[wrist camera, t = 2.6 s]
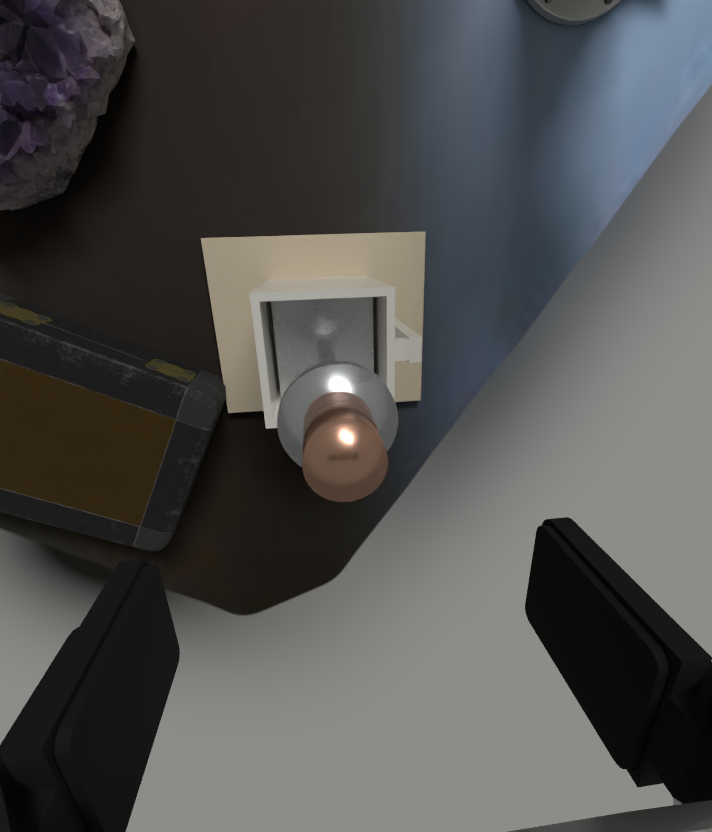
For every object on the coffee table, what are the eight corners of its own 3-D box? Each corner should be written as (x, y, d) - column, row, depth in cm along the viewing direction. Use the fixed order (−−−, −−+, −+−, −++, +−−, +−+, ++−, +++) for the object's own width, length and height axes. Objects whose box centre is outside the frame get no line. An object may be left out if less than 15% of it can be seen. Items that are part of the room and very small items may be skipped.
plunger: (371, 295, 33) (456, 353, 14) (373, 390, 36) (445, 542, 17) (271, 300, 33) (219, 366, 14) (281, 395, 36) (250, 561, 16)
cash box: (-45, 456, 46) (-109, 494, 39) (-17, 283, 40) (-86, 290, 33) (180, 520, 52) (161, 562, 45) (233, 379, 47) (221, 402, 39)
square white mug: (422, 232, 43) (483, 221, 28) (418, 397, 49) (465, 458, 34) (203, 238, 41) (143, 230, 26) (230, 409, 47) (194, 480, 33)
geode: (82, 251, 40) (-5, 245, 31) (-36, 180, 38) (-167, 151, 29) (165, 28, 34) (88, -64, 25) (30, -69, 32) (-109, -208, 23)
